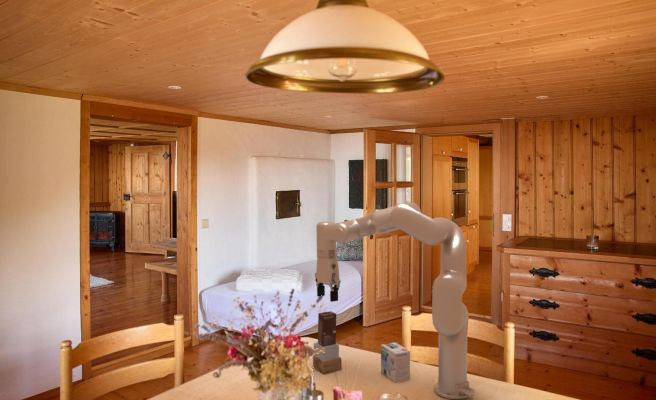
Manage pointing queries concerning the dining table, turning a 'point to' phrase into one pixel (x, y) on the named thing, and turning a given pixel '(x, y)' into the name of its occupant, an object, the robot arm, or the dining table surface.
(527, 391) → the dining table surface
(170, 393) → the dining table surface
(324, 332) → the box
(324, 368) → the tower base
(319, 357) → the tower top
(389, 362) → the light bulb box
